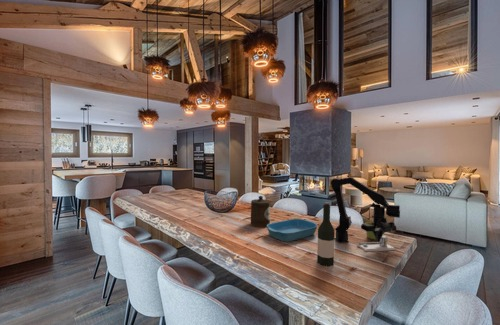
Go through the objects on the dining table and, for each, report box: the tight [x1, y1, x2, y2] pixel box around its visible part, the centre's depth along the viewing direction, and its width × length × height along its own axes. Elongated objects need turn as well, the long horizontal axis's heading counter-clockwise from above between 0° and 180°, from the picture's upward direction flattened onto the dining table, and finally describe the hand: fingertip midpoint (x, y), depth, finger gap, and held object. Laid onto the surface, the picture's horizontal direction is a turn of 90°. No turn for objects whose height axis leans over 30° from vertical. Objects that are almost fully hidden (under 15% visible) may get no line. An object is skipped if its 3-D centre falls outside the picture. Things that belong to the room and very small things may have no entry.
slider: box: [379, 235, 389, 246], centre depth 137 cm, size 3×4×5 cm
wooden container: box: [250, 195, 271, 228], centre depth 180 cm, size 15×15×22 cm
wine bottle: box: [316, 202, 336, 268], centre depth 116 cm, size 8×8×30 cm
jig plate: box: [356, 241, 396, 252], centre depth 137 cm, size 18×8×2 cm, turn 98°
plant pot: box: [364, 222, 376, 240], centre depth 154 cm, size 9×9×9 cm
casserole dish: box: [266, 218, 318, 242], centre depth 157 cm, size 37×22×7 cm, turn 124°
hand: (378, 241), depth 137 cm, fingers closed
